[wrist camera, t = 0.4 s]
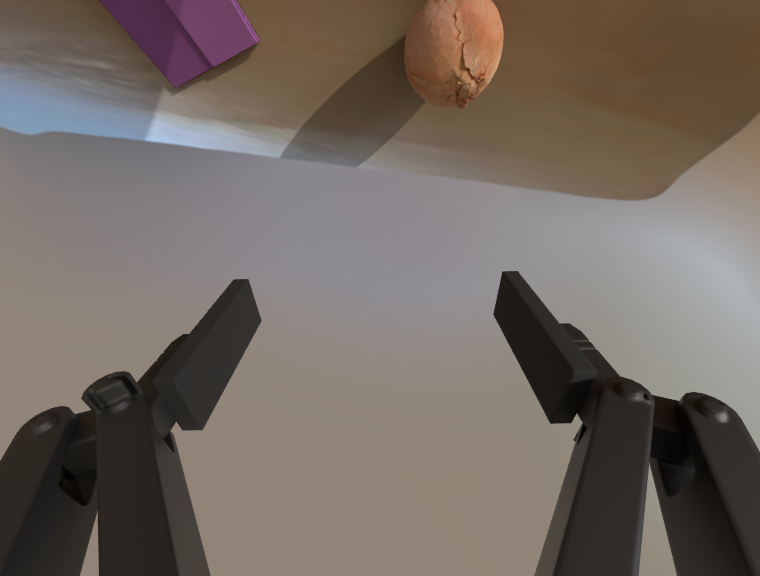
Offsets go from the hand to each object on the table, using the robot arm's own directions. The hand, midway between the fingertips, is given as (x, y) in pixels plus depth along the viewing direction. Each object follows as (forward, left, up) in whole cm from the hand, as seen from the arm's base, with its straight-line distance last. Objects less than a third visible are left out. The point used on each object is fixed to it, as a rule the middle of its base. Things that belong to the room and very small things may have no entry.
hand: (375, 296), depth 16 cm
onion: (+1, +5, -32) cm, 33 cm away
